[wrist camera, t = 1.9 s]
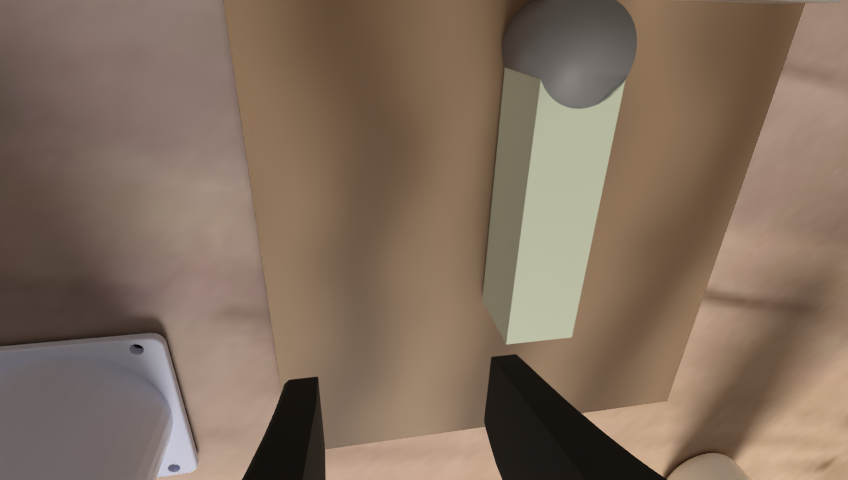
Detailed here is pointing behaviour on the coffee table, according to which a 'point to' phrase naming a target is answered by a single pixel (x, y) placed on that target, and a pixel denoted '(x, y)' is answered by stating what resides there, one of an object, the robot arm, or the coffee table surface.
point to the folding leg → (552, 159)
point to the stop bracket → (774, 1)
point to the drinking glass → (709, 469)
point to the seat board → (479, 198)
